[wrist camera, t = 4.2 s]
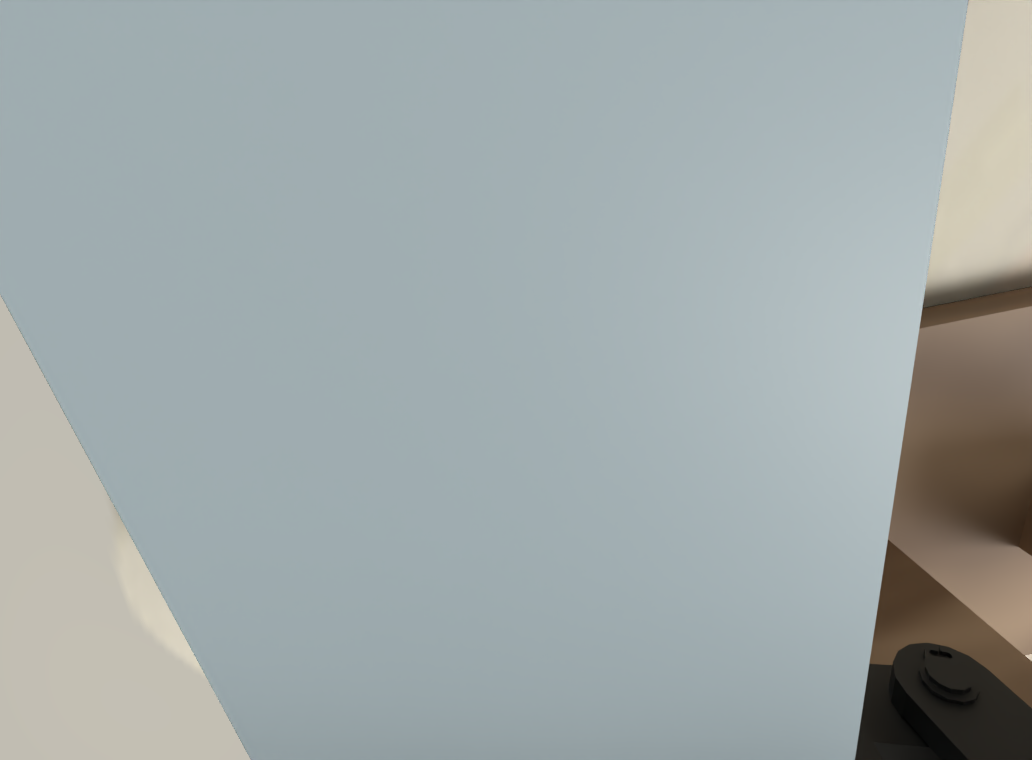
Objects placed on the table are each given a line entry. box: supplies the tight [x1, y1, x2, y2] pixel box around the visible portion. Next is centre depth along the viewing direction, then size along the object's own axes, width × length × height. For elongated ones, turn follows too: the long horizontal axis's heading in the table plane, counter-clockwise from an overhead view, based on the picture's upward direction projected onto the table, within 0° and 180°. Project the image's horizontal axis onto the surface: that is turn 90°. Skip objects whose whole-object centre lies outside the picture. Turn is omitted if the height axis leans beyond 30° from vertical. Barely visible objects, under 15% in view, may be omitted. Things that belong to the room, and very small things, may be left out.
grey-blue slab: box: [0, 0, 968, 760], centre depth 9 cm, size 12×4×11 cm, turn 9°
